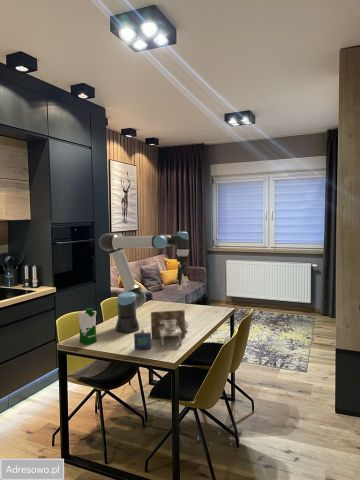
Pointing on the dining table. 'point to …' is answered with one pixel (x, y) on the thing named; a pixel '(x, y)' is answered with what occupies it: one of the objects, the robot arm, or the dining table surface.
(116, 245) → the robot arm
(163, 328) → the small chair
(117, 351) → the dining table surface
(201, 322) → the dining table surface
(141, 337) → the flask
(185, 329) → the pretzel
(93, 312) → the milk carton
